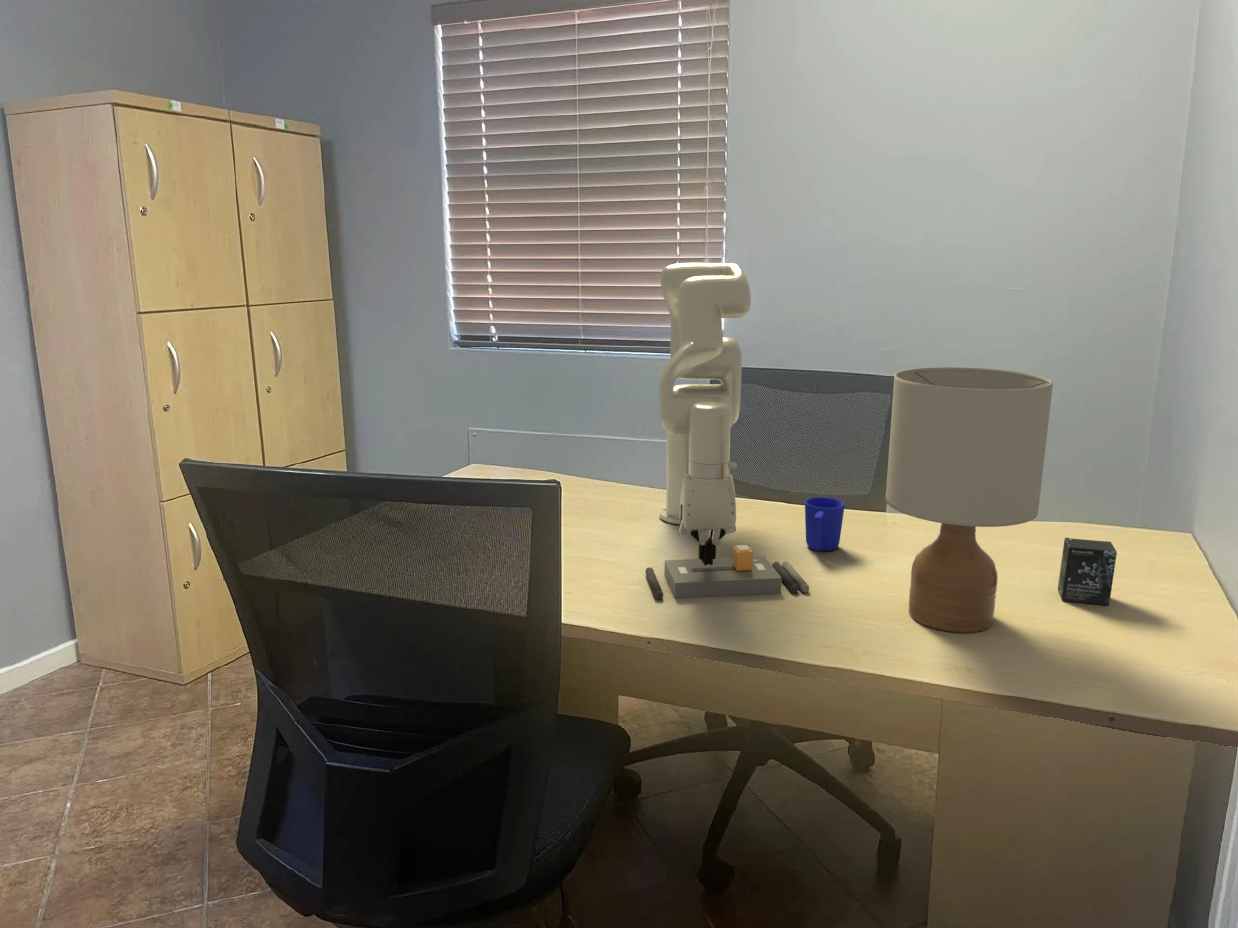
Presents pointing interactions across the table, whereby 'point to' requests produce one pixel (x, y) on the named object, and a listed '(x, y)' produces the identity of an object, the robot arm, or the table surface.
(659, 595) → the dark grey rounded rod
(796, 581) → the light grey rod
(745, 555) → the block
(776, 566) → the grey capsule
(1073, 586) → the box
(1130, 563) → the table surface
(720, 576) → the slider switch box
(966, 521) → the lamp
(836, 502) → the mug
